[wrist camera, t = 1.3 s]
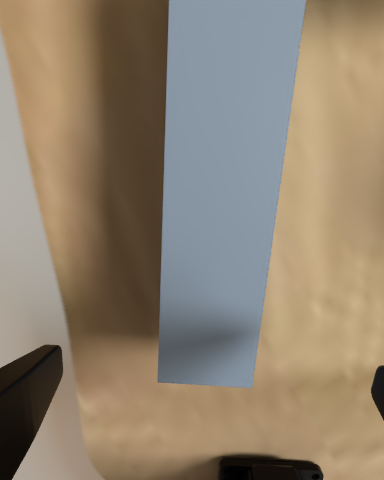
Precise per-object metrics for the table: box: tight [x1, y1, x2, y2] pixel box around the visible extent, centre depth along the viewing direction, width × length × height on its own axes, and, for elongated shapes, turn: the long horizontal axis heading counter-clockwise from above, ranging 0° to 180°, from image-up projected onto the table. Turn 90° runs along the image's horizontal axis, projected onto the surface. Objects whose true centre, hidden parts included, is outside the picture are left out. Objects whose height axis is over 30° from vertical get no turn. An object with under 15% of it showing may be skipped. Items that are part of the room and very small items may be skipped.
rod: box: [158, 0, 306, 388], centre depth 11 cm, size 16×4×4 cm, turn 177°
